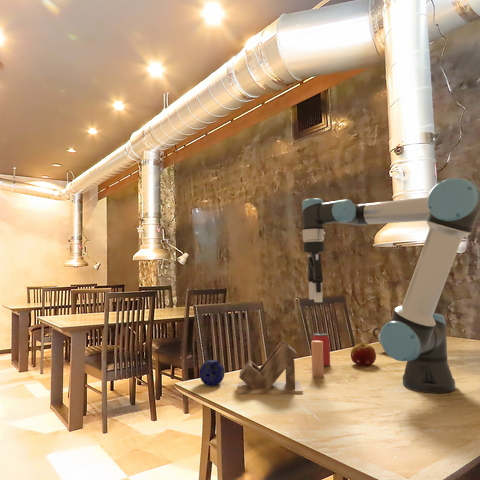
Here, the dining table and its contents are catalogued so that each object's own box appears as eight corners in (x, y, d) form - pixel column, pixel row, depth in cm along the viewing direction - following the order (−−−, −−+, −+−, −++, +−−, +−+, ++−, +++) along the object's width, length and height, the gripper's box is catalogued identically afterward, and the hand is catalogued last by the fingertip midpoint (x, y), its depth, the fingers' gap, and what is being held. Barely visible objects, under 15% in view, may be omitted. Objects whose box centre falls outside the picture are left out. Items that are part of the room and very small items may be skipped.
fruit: (355, 368, 153) (354, 346, 153) (348, 362, 162) (347, 342, 162) (380, 367, 153) (379, 346, 154) (371, 362, 162) (370, 342, 163)
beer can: (325, 367, 155) (324, 335, 156) (310, 365, 159) (309, 334, 160) (333, 364, 160) (331, 333, 161) (317, 362, 164) (316, 332, 165)
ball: (206, 380, 139) (206, 358, 140) (227, 381, 137) (226, 359, 138) (196, 386, 132) (196, 363, 132) (218, 388, 130) (218, 364, 130)
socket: (237, 399, 123) (236, 345, 124) (238, 389, 134) (238, 339, 135) (303, 399, 122) (301, 344, 124) (299, 388, 133) (297, 338, 135)
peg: (326, 376, 141) (325, 341, 142) (316, 378, 140) (315, 342, 141) (319, 374, 145) (318, 340, 146) (310, 375, 143) (309, 341, 144)
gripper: (330, 238, 134) (332, 303, 132) (318, 243, 158) (320, 298, 157) (307, 239, 134) (309, 303, 132) (299, 244, 159) (301, 298, 157)
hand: (315, 300), depth 145 cm, fingers open, 13 cm apart
